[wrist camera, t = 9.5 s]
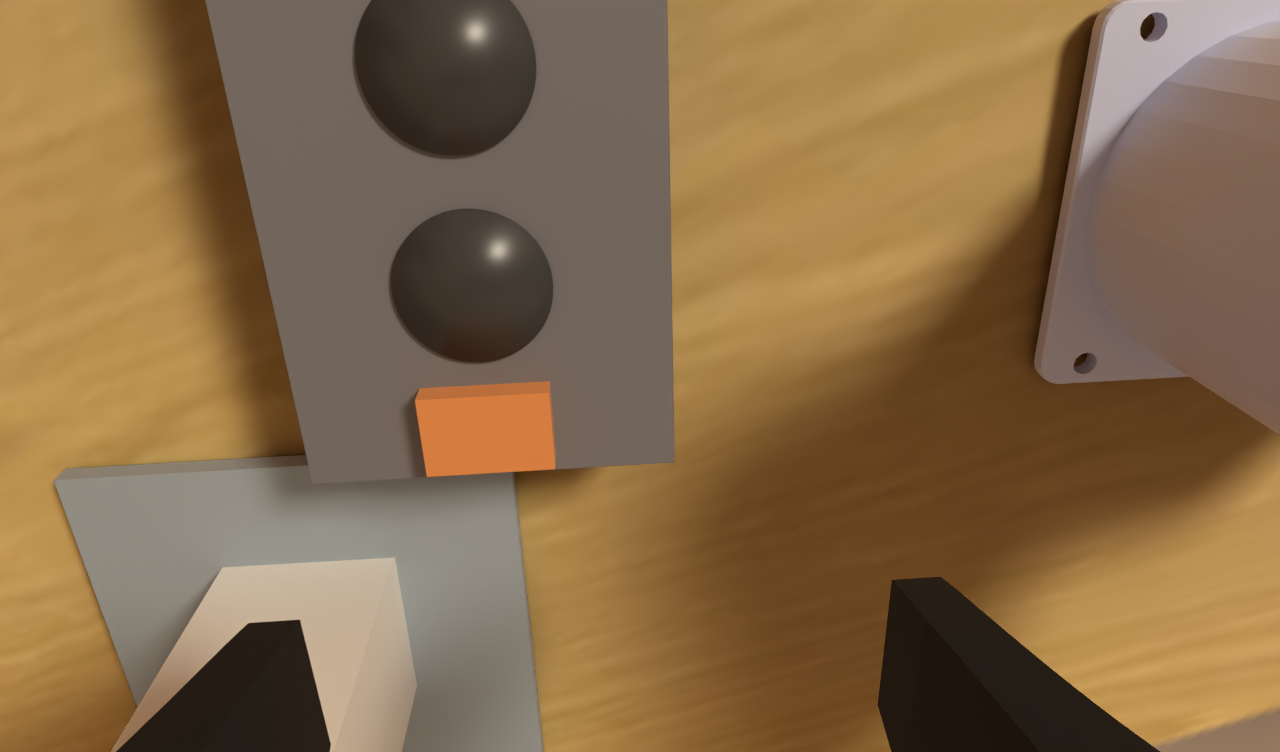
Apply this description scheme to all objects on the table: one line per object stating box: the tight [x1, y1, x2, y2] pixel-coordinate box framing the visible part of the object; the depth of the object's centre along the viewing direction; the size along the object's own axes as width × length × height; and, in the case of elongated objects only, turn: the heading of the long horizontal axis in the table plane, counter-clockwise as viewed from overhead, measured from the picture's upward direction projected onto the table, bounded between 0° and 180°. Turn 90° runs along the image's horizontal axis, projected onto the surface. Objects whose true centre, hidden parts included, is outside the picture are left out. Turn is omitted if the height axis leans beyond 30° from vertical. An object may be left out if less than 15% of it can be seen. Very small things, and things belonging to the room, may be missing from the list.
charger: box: [111, 558, 417, 752], centre depth 18 cm, size 4×4×6 cm
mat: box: [53, 455, 544, 752], centre depth 22 cm, size 10×10×1 cm
